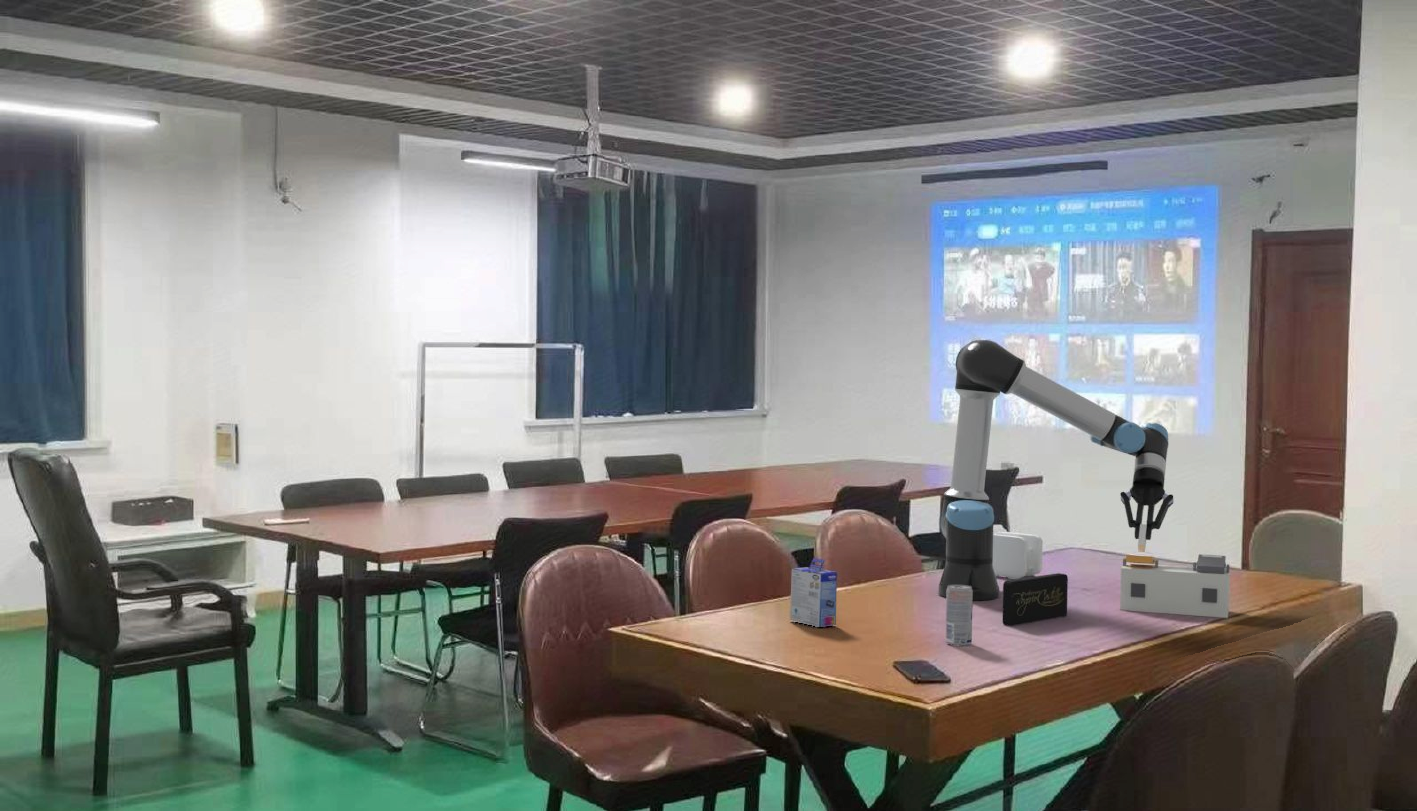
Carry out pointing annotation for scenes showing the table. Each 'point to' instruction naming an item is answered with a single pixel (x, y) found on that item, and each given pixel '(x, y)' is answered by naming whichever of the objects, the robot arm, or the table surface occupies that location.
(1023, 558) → the cable organizer
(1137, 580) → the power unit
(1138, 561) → the rocker orange
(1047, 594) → the nameplate
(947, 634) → the energy drink
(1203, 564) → the rocker charcoal
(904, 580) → the table surface
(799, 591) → the ink cartridge box
